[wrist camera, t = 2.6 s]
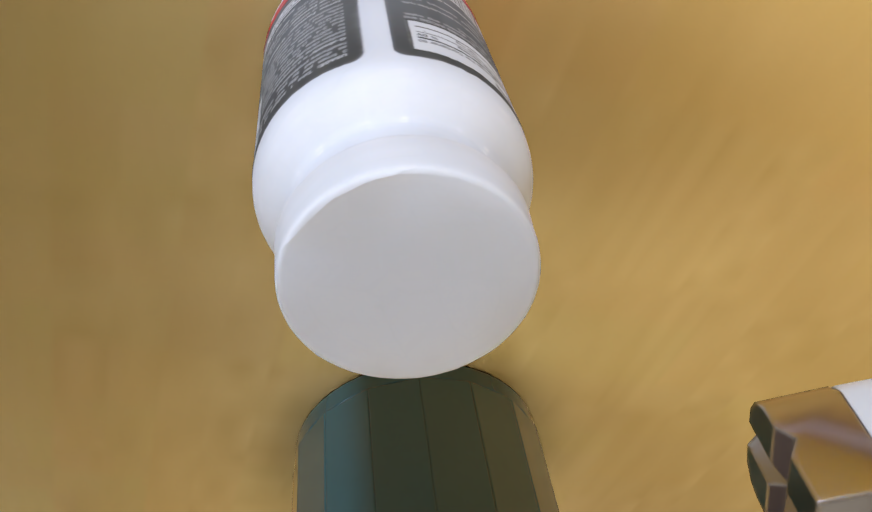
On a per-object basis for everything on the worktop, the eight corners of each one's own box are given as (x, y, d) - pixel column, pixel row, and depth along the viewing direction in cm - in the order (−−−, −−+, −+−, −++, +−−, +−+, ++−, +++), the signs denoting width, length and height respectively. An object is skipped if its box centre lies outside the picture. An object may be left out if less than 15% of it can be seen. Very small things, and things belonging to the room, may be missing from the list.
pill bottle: (294, 163, 24) (284, 424, 16) (238, -32, 21) (190, 177, 13) (490, 127, 24) (575, 370, 16) (467, -73, 21) (561, 109, 13)
